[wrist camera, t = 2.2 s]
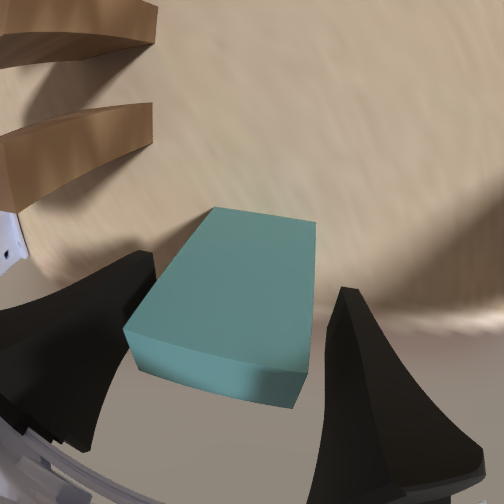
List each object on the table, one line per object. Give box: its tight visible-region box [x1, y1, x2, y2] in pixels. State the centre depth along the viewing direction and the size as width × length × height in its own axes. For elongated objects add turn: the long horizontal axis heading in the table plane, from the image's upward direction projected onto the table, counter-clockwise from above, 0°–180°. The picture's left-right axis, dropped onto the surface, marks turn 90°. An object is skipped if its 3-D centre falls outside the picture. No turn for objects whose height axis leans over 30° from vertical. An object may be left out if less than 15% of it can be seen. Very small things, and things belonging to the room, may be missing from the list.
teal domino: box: [123, 207, 316, 409], centre depth 10 cm, size 2×5×8 cm, turn 86°
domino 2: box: [0, 103, 153, 214], centre depth 9 cm, size 2×5×8 cm, turn 86°
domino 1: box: [0, 0, 158, 69], centre depth 6 cm, size 2×5×8 cm, turn 86°
